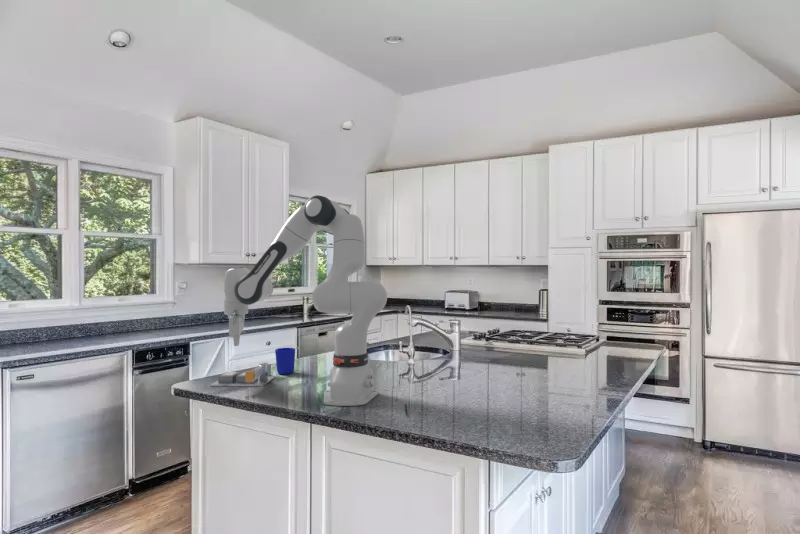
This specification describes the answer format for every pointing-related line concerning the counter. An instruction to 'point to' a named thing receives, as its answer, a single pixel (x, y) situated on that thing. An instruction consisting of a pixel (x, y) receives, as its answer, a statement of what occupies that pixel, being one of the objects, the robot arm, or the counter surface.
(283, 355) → the mug
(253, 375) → the swing arm
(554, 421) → the counter surface
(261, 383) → the chassis plate
